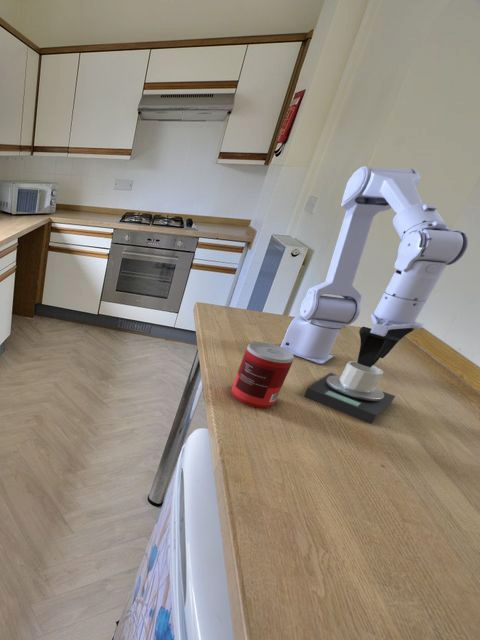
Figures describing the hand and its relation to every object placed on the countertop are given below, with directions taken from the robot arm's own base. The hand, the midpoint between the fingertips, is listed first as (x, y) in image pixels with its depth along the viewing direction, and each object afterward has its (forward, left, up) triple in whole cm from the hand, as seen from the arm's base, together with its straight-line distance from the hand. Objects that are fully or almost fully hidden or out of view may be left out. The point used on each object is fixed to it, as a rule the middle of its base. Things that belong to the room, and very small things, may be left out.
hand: (370, 360), depth 82 cm
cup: (0, -1, -6) cm, 6 cm away
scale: (0, -1, -9) cm, 9 cm away
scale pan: (0, -1, -7) cm, 7 cm away
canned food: (-11, -19, -9) cm, 24 cm away
